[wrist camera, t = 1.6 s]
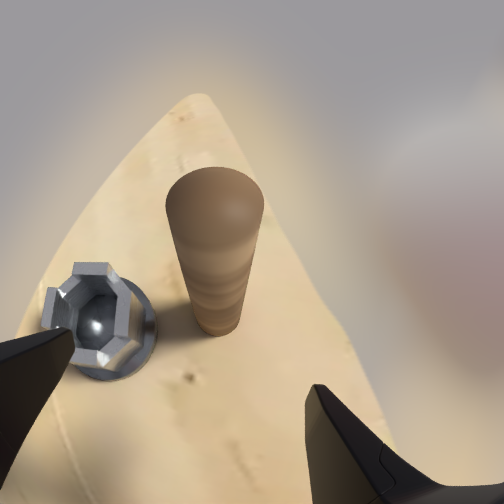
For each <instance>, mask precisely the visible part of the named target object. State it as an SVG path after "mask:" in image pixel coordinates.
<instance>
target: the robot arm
mask: <svg viewBox="0 0 504 504" xmlns="http://www.w3.org/2000/svg"><path fill="white" fill-rule="evenodd" d="M74 352H75V343H74V337H73V332H72V330H71V329H69V328H66V327H59V328H55V329H51V330H47V331H44V332H40V333H36V334H32V335H29V336H25V337H21V338H17V339H13V340H10V341H5V342H2V343H0V490H1V488H2V486H3V483H4V481H5V479H6V477H7V474H8V472H9V470H10V468H11V466H12V464H13V462H14V460H15V458H16V456H17V453H18V451H19V449H20V447H21V446H22V444H23V442H24V440H25V438H26V436H27V434H28V433H29V431H30V429H31V427H32V425H33V424H34V422H35V420H36V418H37V417H38V415H39V413H40V412H41V410H42V408H43V407H44V405H45V403H46V402H47V400H48V398H49V397H50V395H51V394H52V392H53V390H54V389H55V387H56V386H57V384H58V383H59V381H60V379H61V377H62V375H63V373H64V371H65V369H66V367H67V366H68V364H69V362H70V360H71V358H72V356H73V354H74ZM305 444H306V452H307V460H308V468H309V476H310V484H311V493H312V502H313V504H504V482H503V483H500V484H493V485H481V486H445V485H442V484H439V483H437V482H435V481H433V480H431V479H430V478H428V477H427V476H426V475H424V474H423V473H421V472H420V471H418V470H417V469H415V468H414V467H413V466H411V465H410V464H408V463H407V462H406V461H405V460H403V459H402V458H401V457H399V456H398V455H397V454H396V453H395V452H394V451H393V450H391V449H390V448H389V447H388V446H387V445H386V444H385V443H383V441H382V440H380V439H379V438H378V437H377V436H376V435H375V434H374V433H373V432H372V431H371V430H370V429H369V428H368V427H367V426H366V425H365V424H364V423H363V422H362V421H361V420H360V419H359V418H358V417H356V416H355V415H354V414H353V413H352V412H351V411H350V410H349V409H348V408H347V407H346V406H345V405H344V404H343V403H342V402H341V401H340V400H339V399H338V398H337V397H336V396H335V395H334V394H333V393H332V392H331V391H330V390H329V389H328V388H327V387H326V386H325V385H322V384H314V385H312V387H311V389H310V391H309V394H308V396H307V398H306V401H305Z"/></svg>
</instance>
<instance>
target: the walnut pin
mask: <svg viewBox="0 0 504 504" xmlns="http://www.w3.org/2000/svg"><path fill="white" fill-rule="evenodd" d="M263 209H264V199H263V195H262V192H261V190H260V188H259V187H258V185H257V184H256V183H255V182H254V181H253V180H252V179H251V178H249V177H248V176H247V175H245V174H243V173H241V172H239V171H236V170H233V169H229V168H224V167H207V168H202V169H198V170H195V171H192V172H190V173H188V174H186V175H184V176H183V177H181V178H180V179H179V180H178V181H177V182H176V183H175V184H174V185H173V186H172V187H171V189H170V191H169V193H168V195H167V198H166V213H167V217H168V221H169V225H170V229H171V233H172V237H173V241H174V245H175V248H176V252H177V256H178V259H179V263H180V267H181V270H182V274H183V277H184V281H185V284H186V287H187V291H188V294H189V297H190V300H191V304H192V307H193V310H194V313H195V316H196V319H197V322H198V324H199V326H200V327H201V329H202V330H203V331H205V332H206V333H208V334H210V335H214V336H223V335H226V334H229V333H230V332H232V331H233V330H234V329H235V328H236V327H237V325H238V323H239V320H240V315H241V311H242V306H243V302H244V297H245V292H246V288H247V283H248V279H249V274H250V270H251V265H252V260H253V256H254V251H255V247H256V242H257V237H258V233H259V228H260V224H261V219H262V214H263Z"/></svg>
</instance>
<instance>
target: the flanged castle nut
mask: <svg viewBox="0 0 504 504" xmlns="http://www.w3.org/2000/svg"><path fill="white" fill-rule="evenodd" d="M41 327H43V328H45V329H47V330H51V329H55V328H59V327H66V328H69V329H71V330H72V332H73V337H74V343H75V352H74V354H73V356H72V358H71V360H70V362H69V363H72V364H74V365H75V366H76V367H77V368H78V369H79V370H80V371H81V372H83V373H84V374H86V375H88V376H90V377H93V378H96V379H100V380H105V381H117V380H122V379H125V378H128V377H130V376H132V375H133V374H135V373H137V372H138V371H139V370H140V369H141V368H142V367H143V366H144V365H145V364H146V363H147V361H148V360H149V358H150V357H151V355H152V353H153V350H154V347H155V344H156V340H157V319H156V315H155V312H154V309H153V307H152V305H151V303H150V301H149V300H148V298H147V297H146V295H145V294H144V293H143V292H142V290H141V289H140V288H139V287H138V286H136V285H135V284H134V283H132V282H130V281H129V280H127V279H124V278H121V277H119V276H118V275H117V273H116V272H115V271H114V269H113V268H112V267H111V265H110V264H109V262H74V266H73V270H72V276H71V277H70V278H69V279H67V280H66V281H65V282H64V283H63V284H62V285H61V286H60V287H59V288H53V287H48V288H47V293H46V298H45V303H44V309H43V315H42V321H41Z"/></svg>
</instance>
